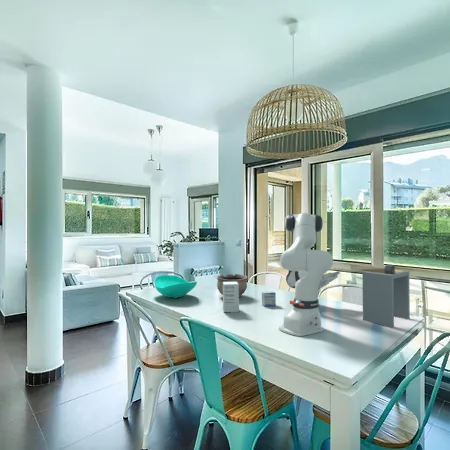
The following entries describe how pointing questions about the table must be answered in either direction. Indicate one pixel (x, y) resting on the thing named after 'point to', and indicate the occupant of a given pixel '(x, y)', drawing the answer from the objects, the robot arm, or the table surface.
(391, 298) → the shelf stand
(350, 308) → the table surface
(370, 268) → the beech handle
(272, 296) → the medicine box
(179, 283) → the table top decor
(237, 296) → the supplement box
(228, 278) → the ceramic bowl
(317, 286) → the robot arm
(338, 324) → the table surface
